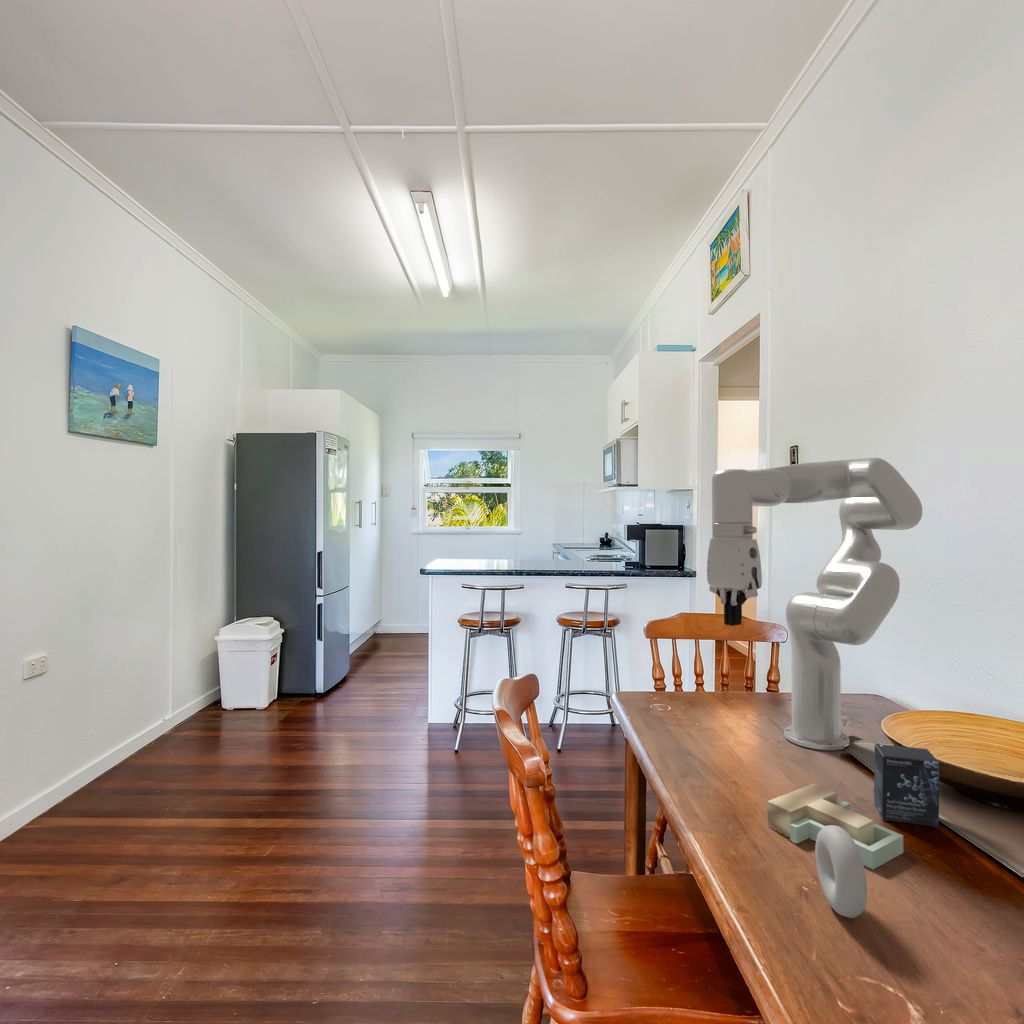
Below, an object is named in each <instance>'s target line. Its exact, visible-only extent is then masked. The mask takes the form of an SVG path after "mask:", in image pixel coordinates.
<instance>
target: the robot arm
mask: <svg viewBox="0 0 1024 1024" xmlns="http://www.w3.org/2000/svg"><path fill="white" fill-rule="evenodd" d="M841 499H842V501H841V503H840V505H839V510H838V516H839V521H840V527H841V537H842V538H841V542H840V545H839V546H838V548H837V549H836V550H835V552H833V554H832V556H831V557H830V558H829V560H828V561H827V562H826V564H825V565H824V567H822V569H821V571H820V573H819V574H818V576H817V578H816V579H817V580H816V588H817V592H800V593H798V594H795V595H794V596H792V597H791V598H790V599H789V601H788V603H787V604H786V608H785V619H786V620H785V621H786V625H787V629H788V634H789V640H790V652H791V653H790V655H791V657H790V660H791V664H790V665H791V667H790V668H791V669H790V670H791V671H790V672H791V674H790V675H791V676H790V677H791V679H790V681H791V686H790V687H791V725H788V726H786V727H785V728H784V730H783V736H784V737H785V738H786V739H787V741H789V742H791V743H792V744H795V745H798V746H800V747H804V748H808V749H812V750H820V751H839V750H844V749H845V748H844V747H845V745H847V744H849V745H850V738H849V736H848V735H846V734H845V733H843V732H842V731H843V730H842V729H843V728H844V727H845V726H849V725H850V724H851V719H850V718H849V716H847V715H843V716H842V715H841V714H842V707H841V706H842V705H841V702H842V699H841V697H842V695H841V694H842V693H841V692H842V691H841V689H842V687H841V686H842V685H841V681H842V680H841V678H842V677H841V670H842V669H841V668H842V667H841V657H840V654H839V651H838V649H837V647H836V645H835V643H839V644H843V645H848V646H861V645H864V644H865V643H867V642H869V640H870V639H871V638H872V637H873V636H874V635H875V633H876V632H877V630H878V629H879V628H880V626H881V625H882V623H883V622H884V620H885V619H886V617H887V616H888V614H889V612H890V611H891V609H892V608H893V606H894V605H895V603H896V601H897V600H898V597H899V593H900V586H901V585H900V584H901V583H900V578H899V574H898V572H897V571H896V570H895V569H894V567H892V566H890V564H887V563H885V562H880V561H881V558H882V550H881V546H880V545H879V543H878V541H877V540H876V539H875V537H874V533H873V530H884V531H885V530H887V531H888V530H892V531H902V530H904V531H905V530H910V529H913V528H914V527H916V526H917V525H918V524H919V523H920V522H921V519H922V517H923V505H922V502H921V500H920V498H919V496H918V494H917V493H916V492H915V490H914V489H913V488H912V487H911V485H910V484H909V483H908V482H907V481H906V479H905V478H904V477H903V476H902V475H901V473H900V472H899V471H898V470H897V469H896V468H895V467H894V466H893V465H892V464H890V463H889V462H888V461H887V460H885V459H883V458H881V457H866V458H865V457H864V458H855V459H854V458H853V459H841V460H829V461H827V460H826V461H818V462H804V463H796V464H789V465H784V466H780V467H779V466H778V467H777V466H776V467H772V468H771V467H770V468H762V469H739V468H738V469H737V468H735V469H734V468H733V469H732V468H731V469H730V468H729V469H719V470H717V471H715V472H713V474H712V477H711V505H712V506H711V512H712V513H711V514H712V515H711V517H712V518H711V521H712V523H711V525H712V526H711V527H712V528H711V531H712V532H711V533H712V537H711V538H710V540H709V543H708V544H709V545H708V551H707V558H706V561H707V562H706V580H707V584H708V585H709V589H708V590H709V591H710V593H712V594H715V595H717V596H718V598H719V599H720V603H721V604H722V605H723V617H724V618H723V621H724V623H723V624H724V625H725V626H731V627H734V626H740V625H742V623H743V621H742V620H743V617H742V616H743V612H742V611H743V610H742V609H743V606H742V605H745V603H746V601H747V600H748V599H751V598H757V597H759V596H758V595H759V593H758V590H759V589H761V588H762V585H763V576H762V575H763V571H762V562H761V560H762V559H761V555H760V554H761V553H760V549H759V545H758V541H757V539H755V538H754V537H753V535H755V534H756V533H757V531H758V530H757V527H756V526H753V523H754V522H753V507H773V506H779V505H781V504H782V503H783V504H805V503H807V504H808V503H809V504H811V503H817V502H825V501H832V500H841Z"/></svg>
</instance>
